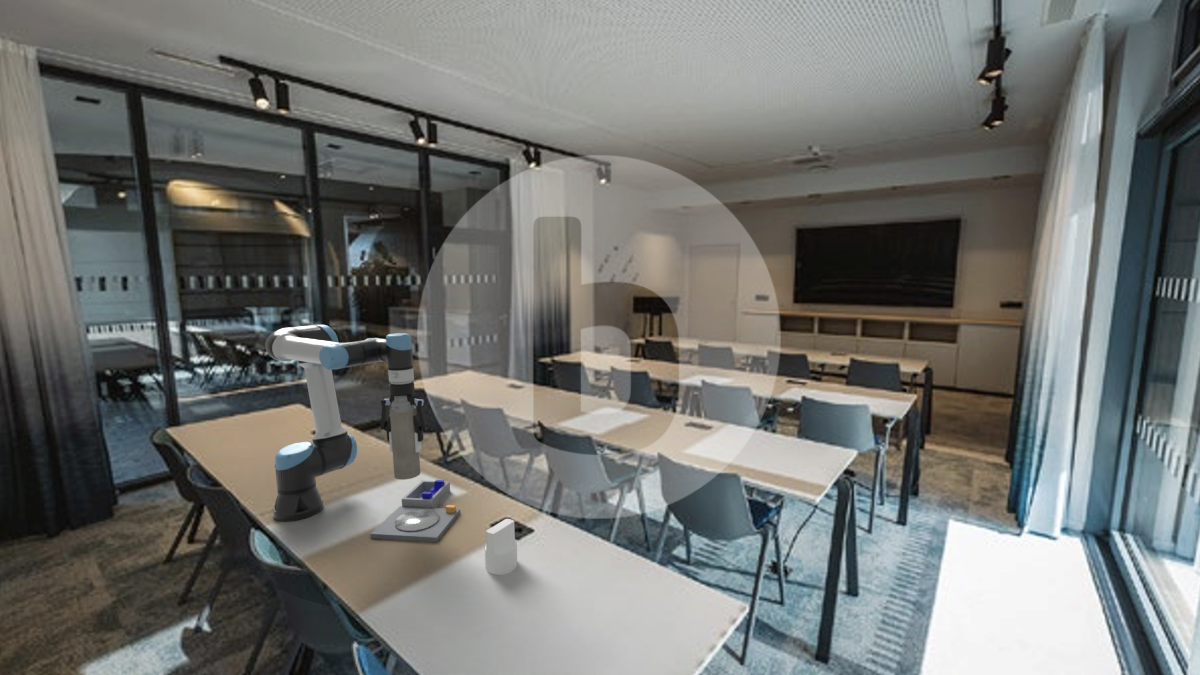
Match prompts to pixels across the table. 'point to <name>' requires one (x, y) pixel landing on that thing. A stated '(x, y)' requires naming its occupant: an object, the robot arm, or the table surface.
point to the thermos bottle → (404, 439)
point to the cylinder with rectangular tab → (501, 548)
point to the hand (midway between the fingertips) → (406, 450)
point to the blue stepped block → (433, 489)
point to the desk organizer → (425, 486)
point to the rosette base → (416, 523)
